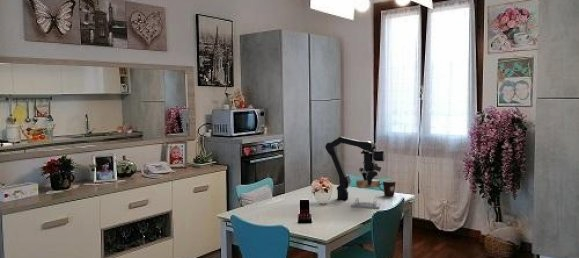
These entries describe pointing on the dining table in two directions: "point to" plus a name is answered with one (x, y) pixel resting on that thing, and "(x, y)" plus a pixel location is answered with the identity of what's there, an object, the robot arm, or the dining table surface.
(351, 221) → the dining table surface
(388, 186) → the coffee mug
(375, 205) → the peg plate
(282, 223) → the dining table surface
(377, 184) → the shelf board
